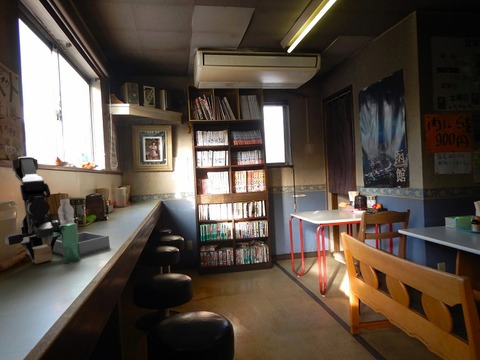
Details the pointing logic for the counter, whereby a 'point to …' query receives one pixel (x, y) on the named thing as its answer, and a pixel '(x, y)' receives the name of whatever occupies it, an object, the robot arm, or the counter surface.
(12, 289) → the counter surface
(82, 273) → the counter surface
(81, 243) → the grey tote
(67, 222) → the plastic bottle
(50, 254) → the walnut block
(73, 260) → the green tall cylinder
